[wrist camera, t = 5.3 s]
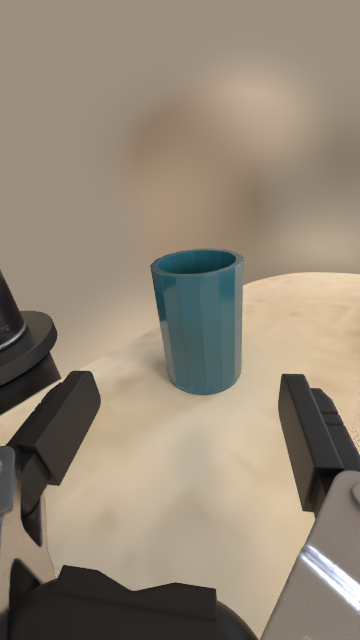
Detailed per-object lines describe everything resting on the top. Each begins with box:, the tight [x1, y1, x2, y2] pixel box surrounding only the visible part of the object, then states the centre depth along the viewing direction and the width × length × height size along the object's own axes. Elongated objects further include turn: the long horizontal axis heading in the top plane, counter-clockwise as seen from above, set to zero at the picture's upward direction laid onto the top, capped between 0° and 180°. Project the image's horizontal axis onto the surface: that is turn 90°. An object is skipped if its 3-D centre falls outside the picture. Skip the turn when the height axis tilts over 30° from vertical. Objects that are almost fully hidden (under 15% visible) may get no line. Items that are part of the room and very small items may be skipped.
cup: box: [150, 249, 243, 395], centre depth 21 cm, size 7×7×10 cm
